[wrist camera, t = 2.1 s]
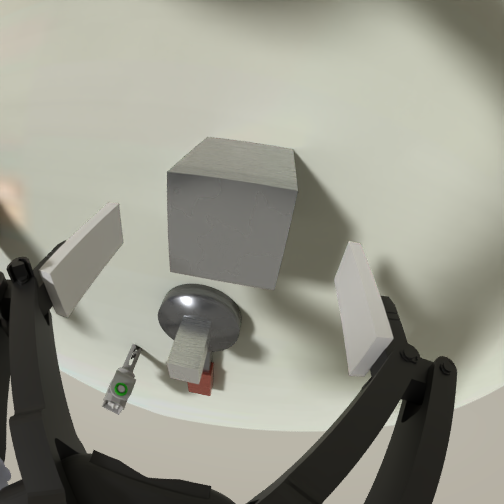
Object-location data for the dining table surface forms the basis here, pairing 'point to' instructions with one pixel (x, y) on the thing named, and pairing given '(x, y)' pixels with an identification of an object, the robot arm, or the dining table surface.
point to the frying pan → (197, 332)
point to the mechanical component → (121, 384)
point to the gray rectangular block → (231, 211)
